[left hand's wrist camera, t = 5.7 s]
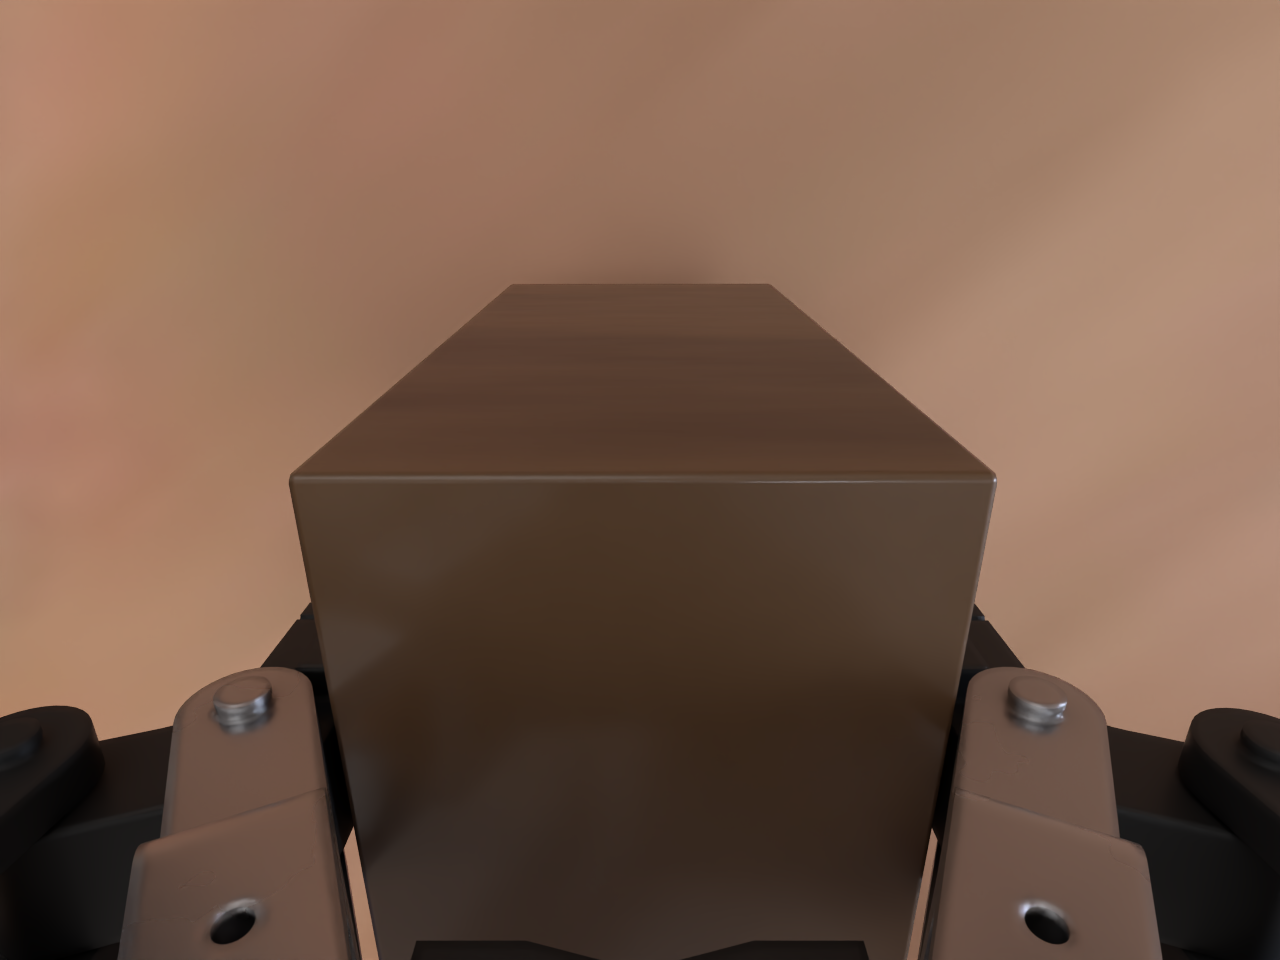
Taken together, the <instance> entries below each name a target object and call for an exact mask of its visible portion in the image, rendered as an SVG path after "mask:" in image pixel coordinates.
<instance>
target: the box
mask: <svg viewBox="0 0 1280 960" xmlns="http://www.w3.org/2000/svg"><path fill="white" fill-rule="evenodd" d="M996 485H997V478H996V474H995V473H994V472H993V471H992V470H991V469H990V468H988V467H987V466H986V465H985V464H984V463H983V462H981V461H980V460H979V459H978V458H977V457H975V456H974V455H973V454H972V453H971V452H969V451H968V450H967V449H966V448H965V447H963V446H962V445H961V444H960V443H959V442H958V441H956V440H955V439H954V438H953V437H952V436H950V435H949V434H948V433H947V432H946V431H944V430H943V429H942V428H941V427H940V426H938V425H937V424H936V423H935V422H934V421H933V420H931V419H930V418H929V417H928V416H927V415H925V414H924V413H923V412H922V411H921V410H919V409H918V408H917V407H916V406H915V405H913V404H912V403H911V402H910V401H909V400H907V399H906V398H905V397H904V396H903V395H902V394H900V393H899V392H898V391H897V390H896V389H894V388H893V387H892V386H891V385H890V384H888V383H887V382H886V381H885V380H884V379H882V378H881V377H880V376H879V375H878V374H877V373H875V372H874V371H873V370H872V369H871V368H869V367H868V366H867V365H866V364H865V363H863V362H862V361H861V360H860V359H859V358H857V357H856V356H855V355H854V354H853V353H852V352H850V351H849V350H848V349H847V348H846V347H844V346H843V345H842V344H841V343H840V342H838V341H837V340H836V339H835V338H834V337H832V336H831V335H830V334H829V333H828V332H826V331H825V330H824V329H823V328H822V327H821V326H819V325H818V324H817V323H816V322H815V321H813V320H812V319H811V318H810V317H809V316H807V315H806V314H805V313H804V312H803V311H801V310H800V309H799V308H798V307H797V306H796V305H794V304H793V303H792V302H791V301H790V300H788V299H787V298H786V297H785V296H784V295H782V294H781V293H780V292H779V291H778V290H776V289H775V288H774V287H773V286H772V285H770V284H513V285H510V286H509V287H508V288H507V289H506V290H505V291H503V292H502V293H501V294H500V295H499V296H498V297H496V298H495V299H494V300H493V301H492V302H491V303H490V304H488V305H487V306H486V307H485V308H484V309H483V310H481V311H480V312H479V313H478V314H477V315H476V316H474V317H473V318H472V319H471V320H470V321H469V322H467V323H466V324H465V325H464V326H463V327H462V328H460V329H459V330H458V331H457V332H456V333H455V334H453V335H452V336H451V337H450V338H449V339H448V340H446V341H445V342H444V343H443V344H442V345H441V346H439V347H438V348H437V349H436V350H435V351H434V352H432V353H431V354H430V355H429V356H428V357H427V358H425V359H424V360H423V361H422V362H421V363H420V364H418V365H417V366H416V367H415V368H414V369H413V370H411V371H410V372H409V373H408V374H407V375H406V376H404V377H403V378H402V379H401V380H400V381H399V382H397V383H396V384H395V385H394V386H393V387H392V388H391V389H389V390H388V391H387V392H386V393H385V394H384V395H382V396H381V397H380V398H379V399H378V400H377V401H375V402H374V403H373V404H372V405H371V406H370V407H368V408H367V409H366V410H365V411H364V412H363V413H361V414H360V415H359V416H358V417H357V418H356V419H354V420H353V421H352V422H351V423H350V424H349V425H347V426H346V427H345V428H344V429H343V430H342V431H340V432H339V433H338V434H337V435H336V436H335V437H333V438H332V439H331V440H330V441H329V442H328V443H326V444H325V445H324V446H323V447H322V448H321V449H319V450H318V451H317V452H316V453H315V454H314V455H312V456H311V457H310V458H309V459H308V460H307V461H305V462H304V463H303V464H302V465H301V466H300V467H298V468H297V469H296V470H295V471H294V472H293V473H292V474H291V475H290V479H289V487H290V492H291V498H292V503H293V508H294V513H295V519H296V524H297V529H298V535H299V540H300V545H301V550H302V556H303V561H304V566H305V571H306V577H307V582H308V587H309V593H310V598H311V603H312V608H313V614H314V619H315V624H316V630H317V635H318V640H319V645H320V651H321V656H322V661H323V666H324V672H325V677H326V682H327V688H328V693H329V698H330V703H331V709H332V714H333V719H334V725H335V730H336V735H337V740H338V746H339V751H340V756H341V761H342V767H343V772H344V777H345V783H346V788H347V793H348V798H349V804H350V809H351V814H352V819H353V825H354V830H355V835H356V841H357V846H358V851H359V856H360V862H361V867H362V872H363V878H364V883H365V888H366V893H367V899H368V904H369V909H370V914H371V920H372V925H373V930H374V936H375V941H376V946H377V951H378V957H379V960H411V957H412V954H413V950H414V947H415V944H416V941H530V942H534V943H538V944H541V945H545V946H549V947H553V948H557V949H561V950H564V951H568V952H572V953H576V954H580V955H584V956H587V957H591V958H595V959H599V960H681V959H685V958H689V957H693V956H696V955H700V954H704V953H708V952H712V951H716V950H719V949H723V948H727V947H731V946H735V945H739V944H742V943H746V942H750V941H864V944H865V947H866V950H867V954H868V957H869V960H907V956H908V950H909V945H910V940H911V934H912V929H913V924H914V919H915V913H916V908H917V903H918V898H919V892H920V887H921V882H922V876H923V871H924V866H925V861H926V855H927V850H928V845H929V839H930V834H931V829H932V824H933V818H934V813H935V808H936V802H937V797H938V792H939V787H940V781H941V776H942V771H943V765H944V760H945V755H946V750H947V744H948V739H949V734H950V728H951V723H952V718H953V713H954V707H955V702H956V697H957V691H958V686H959V681H960V676H961V670H962V665H963V660H964V654H965V649H966V644H967V639H968V633H969V628H970V623H971V617H972V612H973V607H974V602H975V596H976V591H977V586H978V581H979V575H980V570H981V565H982V559H983V554H984V549H985V544H986V538H987V533H988V528H989V522H990V517H991V512H992V507H993V501H994V496H995V491H996Z"/></svg>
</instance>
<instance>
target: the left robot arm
mask: <svg viewBox="0 0 1280 960" xmlns="http://www.w3.org/2000/svg"><path fill="white" fill-rule="evenodd" d="M300 616H301V618H300V620H296V622H295V623H294V624H293V626H292V627H291V628H290V629H289V631H288V632H287V633H286V635H285V636H284V637H283V639H282V640H281V641H280V642H279V644H278V645H277V646H276V648H275V649H274V650H273V652H272V653H271V654H270V655H269V657H268V658H267V659H266V661H265V662H264V663H263V665H262V666H261V667H260V668H255V669H250V670H245V671H241V672H238V673H234V674H231V675H229V676H226V677H223V678H221V679H219V680H217V681H215V682H213V683H211V684H209V685H207V686H205V687H204V688H202V689H201V690H199V691H198V692H196V693H195V694H194V695H192V696H191V697H190V698H189V699H188V700H187V701H186V702H185V703H184V704H183V705H182V706H181V708H180V709H179V711H178V712H177V714H176V716H175V720H174V724H173V726H169V727H165V728H161V729H156V730H151V731H146V732H142V733H137V734H132V735H127V736H122V737H117V738H112V739H107V740H102V741H98V738H97V735H96V732H95V729H94V726H93V723H92V720H91V718H90V716H89V715H88V714H87V713H86V712H85V711H83V710H81V709H78V708H76V707H70V706H45V707H39V708H33V709H28V710H24V711H20V712H16V713H13V714H10V715H7V716H4V717H1V718H0V960H362V955H361V949H360V942H359V936H358V930H357V923H356V917H355V911H354V904H353V898H352V892H351V885H350V879H349V873H348V866H347V861H346V856H345V851H344V847H345V844H346V842H347V840H348V838H349V835H350V833H351V831H352V829H353V826H354V825H353V819H352V814H351V809H350V804H349V798H348V793H347V788H346V783H345V777H344V772H343V767H342V761H341V756H340V751H339V746H338V740H337V735H336V730H335V725H334V719H333V714H332V709H331V703H330V698H329V693H328V688H327V682H326V677H325V672H324V666H323V661H322V656H321V651H320V645H319V640H318V635H317V630H316V624H315V619H314V614H313V608H312V603H309V605H308V606H307V607H306V609H305V610H304V611H303V613H302V614H301V615H300ZM984 617H985V616H984V615H983V614H982V612H981V611H980V610H979V609H978V607H977V606H976V605H975V604H974V607H973V612H972V617H971V623H970V628H969V633H968V639H967V644H966V649H965V654H964V660H963V665H962V670H961V676H960V681H959V686H958V691H957V697H956V702H955V707H954V713H953V718H952V723H951V728H950V734H949V739H948V744H947V750H946V755H945V760H944V765H943V771H942V776H941V781H940V787H939V792H938V797H937V802H936V808H935V813H934V818H933V824H932V829H933V831H934V833H935V835H936V838H937V840H938V841H937V846H936V851H935V856H934V861H933V866H932V873H931V879H930V885H929V892H928V898H927V904H926V911H925V917H924V923H923V930H922V936H921V942H920V949H919V955H918V960H1280V719H1278V718H1275V717H1272V716H1269V715H1266V714H1262V713H1258V712H1254V711H1249V710H1243V709H1235V708H1215V709H1209V710H1205V711H1203V712H1200V713H1199V714H1197V715H1196V716H1195V717H1194V718H1193V720H1192V722H1191V725H1190V728H1189V731H1188V734H1187V737H1186V740H1185V742H1181V741H1176V740H1171V739H1166V738H1161V737H1156V736H1151V735H1146V734H1142V733H1137V732H1132V731H1127V730H1123V729H1118V728H1114V727H1110V726H1107V724H1106V720H1105V716H1104V714H1103V712H1102V711H1101V709H1100V708H1099V706H1098V705H1097V704H1096V703H1095V702H1094V701H1093V700H1092V699H1091V698H1090V697H1089V696H1088V695H1086V694H1085V693H1084V692H1082V691H1081V690H1079V689H1078V688H1076V687H1075V686H1073V685H1071V684H1069V683H1067V682H1065V681H1063V680H1061V679H1059V678H1057V677H1054V676H1051V675H1049V674H1046V673H1042V672H1039V671H1035V670H1030V669H1025V668H1024V666H1023V665H1022V664H1021V662H1020V661H1019V660H1018V659H1017V657H1016V656H1015V655H1014V653H1013V652H1012V651H1011V650H1010V648H1009V647H1008V646H1007V644H1006V643H1005V642H1004V641H1003V639H1002V638H1001V637H1000V635H999V634H998V633H997V632H996V630H995V629H994V628H993V626H992V625H991V624H990V623H989V621H985V618H984ZM411 960H599V959H595V958H591V957H587V956H584V955H580V954H576V953H572V952H568V951H564V950H561V949H557V948H553V947H549V946H545V945H541V944H538V943H534V942H530V941H416V944H415V947H414V950H413V954H412V957H411ZM681 960H869V957H868V954H867V950H866V947H865V944H864V941H750V942H746V943H742V944H739V945H735V946H731V947H727V948H723V949H719V950H716V951H712V952H708V953H704V954H700V955H696V956H693V957H689V958H685V959H681Z"/></svg>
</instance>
